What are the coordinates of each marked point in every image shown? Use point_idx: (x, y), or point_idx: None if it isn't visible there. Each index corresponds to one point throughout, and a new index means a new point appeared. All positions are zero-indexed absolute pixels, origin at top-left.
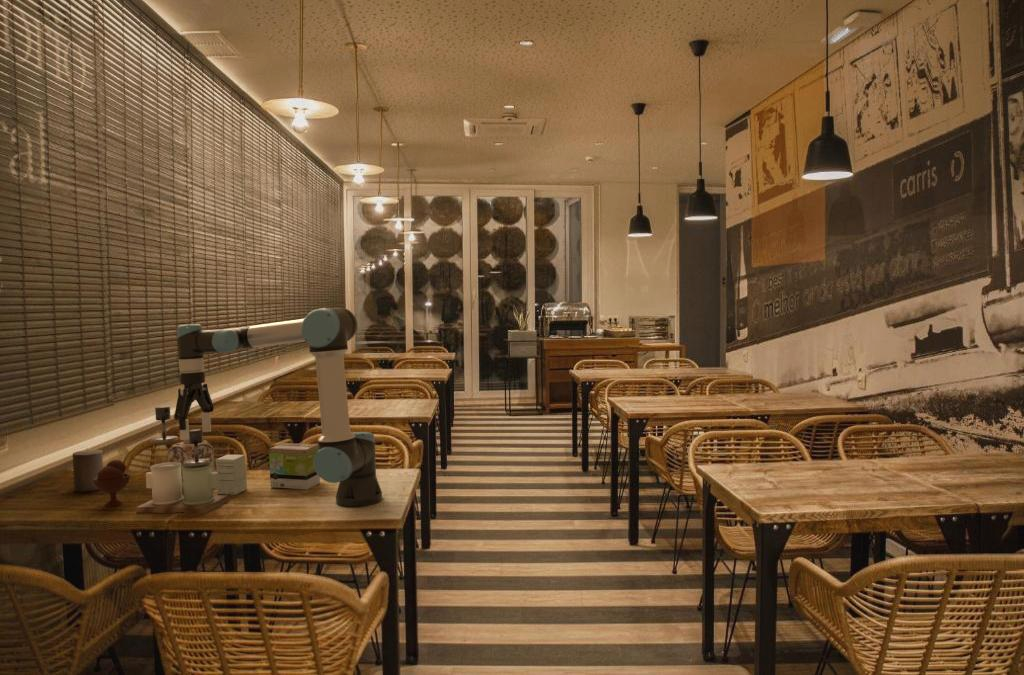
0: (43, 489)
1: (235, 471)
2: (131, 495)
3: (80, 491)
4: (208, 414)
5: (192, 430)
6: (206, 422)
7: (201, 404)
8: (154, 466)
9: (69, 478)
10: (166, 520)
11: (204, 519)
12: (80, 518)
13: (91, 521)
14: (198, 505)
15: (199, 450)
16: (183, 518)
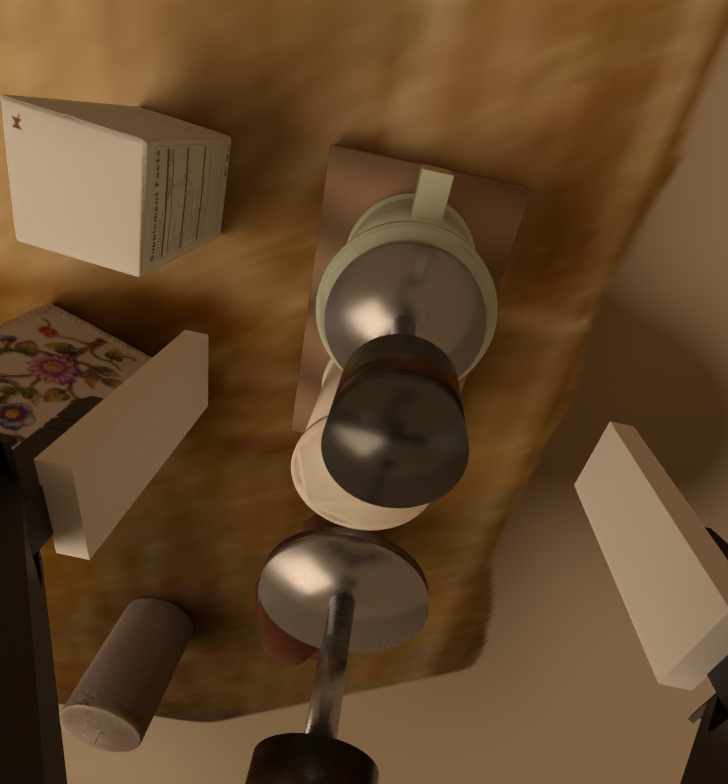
0: (171, 687)
1: (176, 135)
2: (229, 517)
3: (192, 628)
4: (93, 456)
5: (396, 474)
6: (159, 419)
7: (49, 699)
8: (376, 515)
9: (72, 672)
10: (580, 326)
11: (636, 163)
12: (457, 565)
13: (499, 535)
14: (483, 241)
15: (2, 416)
16: (578, 267)
